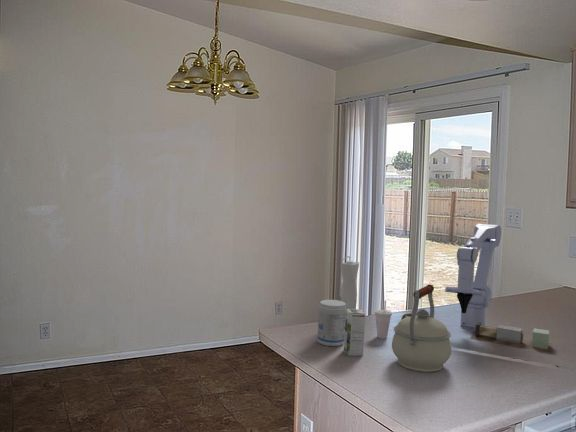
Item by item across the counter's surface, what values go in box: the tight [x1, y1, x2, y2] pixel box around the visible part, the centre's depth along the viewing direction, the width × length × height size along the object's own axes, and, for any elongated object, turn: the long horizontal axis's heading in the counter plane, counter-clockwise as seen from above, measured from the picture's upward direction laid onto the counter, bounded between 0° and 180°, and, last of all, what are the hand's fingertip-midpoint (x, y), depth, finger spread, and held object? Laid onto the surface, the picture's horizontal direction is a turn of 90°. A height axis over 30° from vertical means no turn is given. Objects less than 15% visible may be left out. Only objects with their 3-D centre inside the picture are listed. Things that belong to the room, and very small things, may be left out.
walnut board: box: [469, 330, 552, 353], centre depth 186 cm, size 27×12×1 cm, turn 61°
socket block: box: [531, 327, 550, 349], centre depth 181 cm, size 5×6×5 cm
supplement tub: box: [317, 299, 346, 347], centre depth 178 cm, size 10×10×15 cm
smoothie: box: [374, 300, 393, 339], centre depth 188 cm, size 6×6×14 cm
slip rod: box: [475, 322, 524, 341], centre depth 188 cm, size 16×4×4 cm, turn 61°
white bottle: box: [339, 256, 360, 319], centre depth 201 cm, size 8×8×28 cm
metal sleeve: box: [497, 324, 523, 344], centre depth 186 cm, size 8×5×5 cm, turn 61°
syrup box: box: [343, 308, 366, 357], centre depth 168 cm, size 6×6×14 cm
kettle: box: [391, 284, 452, 373], centre depth 160 cm, size 25×18×25 cm
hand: (463, 312), depth 194 cm, fingers closed
